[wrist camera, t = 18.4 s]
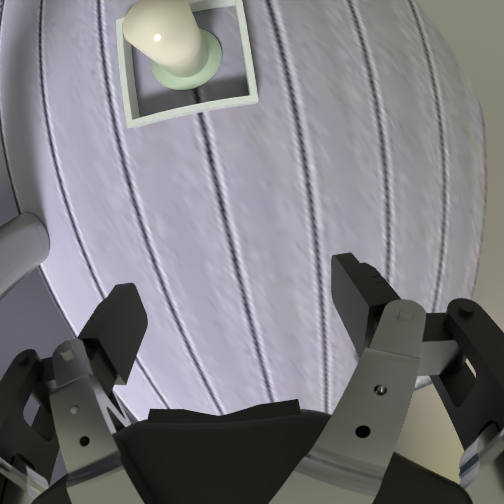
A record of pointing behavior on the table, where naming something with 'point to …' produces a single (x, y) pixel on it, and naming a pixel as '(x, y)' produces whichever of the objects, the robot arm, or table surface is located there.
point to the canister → (167, 35)
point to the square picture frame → (197, 2)
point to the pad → (199, 78)
